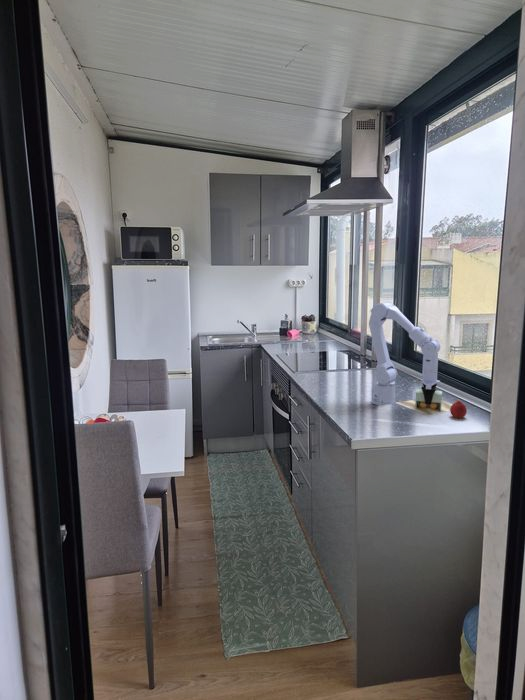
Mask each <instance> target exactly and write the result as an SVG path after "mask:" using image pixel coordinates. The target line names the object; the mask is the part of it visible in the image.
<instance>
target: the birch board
mask: <svg viewBox="0 0 525 700" xmlns="http://www.w3.org/2000/svg"><path fill="white" fill-rule="evenodd" d="M395 404H396V405H397V404H398V405H400V406H402V407H404V408H407V409H410V410H412V411H415V412H418V413H420V414H421V415H422V414H423V415H425V416H427V415H435V414H441V413H445V412H450V408H451V406H452V405H453V404H454V403H450V402H447V401H445V400H442V406H441V411H440V408H439V407H437V408H435V409H432V408H431V407H427V406H426V407H425V408H422V407H420V406H417V407H416V409H415V399H410V400H404V401H398V402H397V401H396V402H395Z"/></svg>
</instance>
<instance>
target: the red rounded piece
mask: <svg viewBox="0 0 525 700" xmlns="http://www.w3.org/2000/svg"><path fill="white" fill-rule="evenodd" d="M452 404H453V405H452V406H451V408H450V411H449V412H450V414H451V416H452V417H454V418H456V419H463V418H464V417H466V415H467V407H466V405H465V404H464V403H463V402H462V401H461V400H460V399H456V401H455V402H454V403H452Z"/></svg>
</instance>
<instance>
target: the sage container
mask: <svg viewBox="0 0 525 700" xmlns="http://www.w3.org/2000/svg"><path fill="white" fill-rule="evenodd" d="M414 400H415V409H416V407H417V406H420V402H421V401H424V402H425V399H424V394H423V391H422V389H421V388H420V389H418V388H417V389H416V390H415V399H414ZM442 401H443V391H442V390H436V391H435V392H434V395H433V398H432V402H436V403H437V407H439V408H440V411H441V406H442ZM427 407H430V404H427Z"/></svg>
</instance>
